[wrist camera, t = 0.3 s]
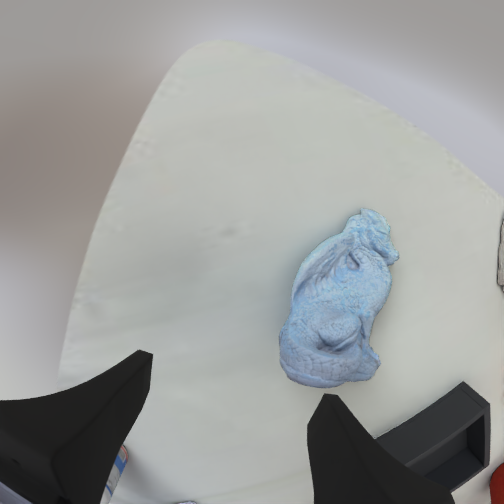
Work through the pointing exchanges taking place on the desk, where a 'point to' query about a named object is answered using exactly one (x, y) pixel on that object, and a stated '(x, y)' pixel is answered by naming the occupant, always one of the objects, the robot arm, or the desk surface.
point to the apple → (497, 486)
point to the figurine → (338, 305)
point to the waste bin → (445, 439)
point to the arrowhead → (501, 259)
